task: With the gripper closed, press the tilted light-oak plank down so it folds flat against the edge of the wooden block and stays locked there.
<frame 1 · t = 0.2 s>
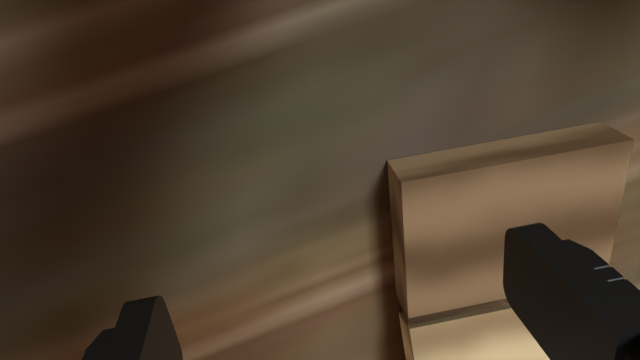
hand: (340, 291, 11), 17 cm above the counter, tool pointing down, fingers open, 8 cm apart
wooden block: (491, 214, 33), on the counter
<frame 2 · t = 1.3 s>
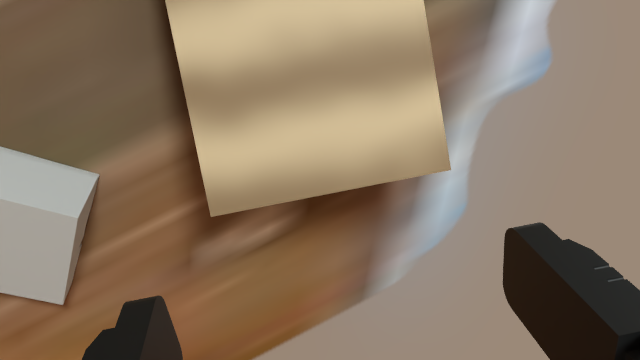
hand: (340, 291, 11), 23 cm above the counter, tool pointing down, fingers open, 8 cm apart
oak plank: (308, 74, 28), point 4 cm above the counter, hinge at 22.0°
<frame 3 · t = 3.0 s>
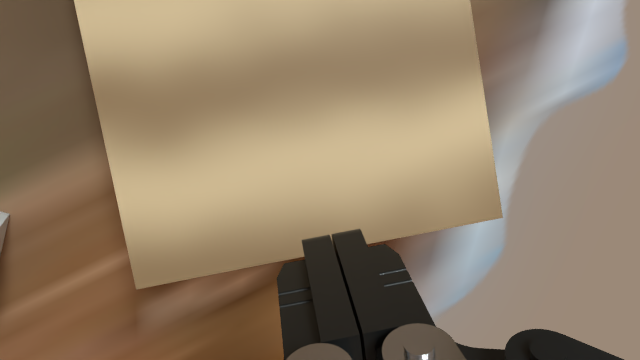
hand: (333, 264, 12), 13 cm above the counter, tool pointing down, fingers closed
oak plank: (289, 72, 19), point 4 cm above the counter, hinge at 22.0°
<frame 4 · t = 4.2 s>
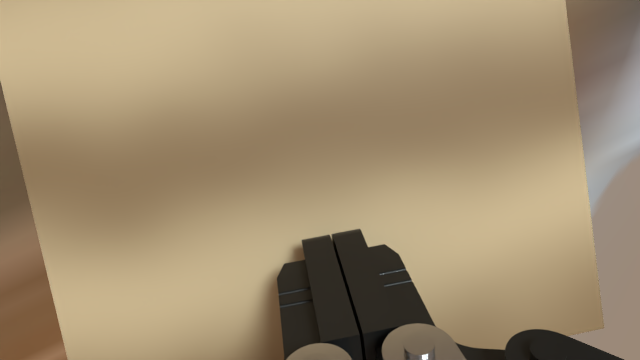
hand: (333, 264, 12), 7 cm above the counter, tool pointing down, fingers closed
oak plank: (305, 120, 13), point 4 cm above the counter, hinge at 20.5°, touching gripper
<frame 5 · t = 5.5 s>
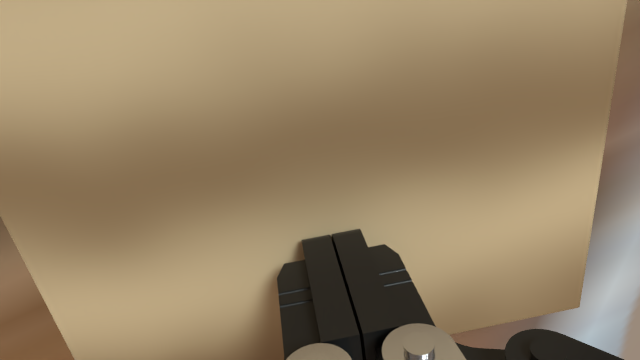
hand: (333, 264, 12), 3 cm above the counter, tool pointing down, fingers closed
oak plank: (306, 107, 12), point 1 cm above the counter, hinge at -0.1°, touching gripper
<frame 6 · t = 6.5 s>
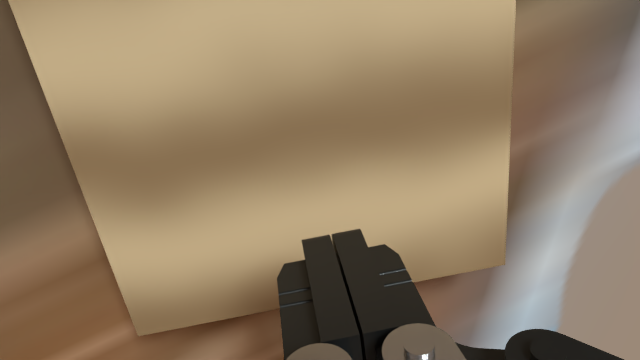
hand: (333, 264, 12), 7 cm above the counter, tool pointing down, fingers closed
oak plank: (294, 109, 16), point 1 cm above the counter, hinge at -0.1°
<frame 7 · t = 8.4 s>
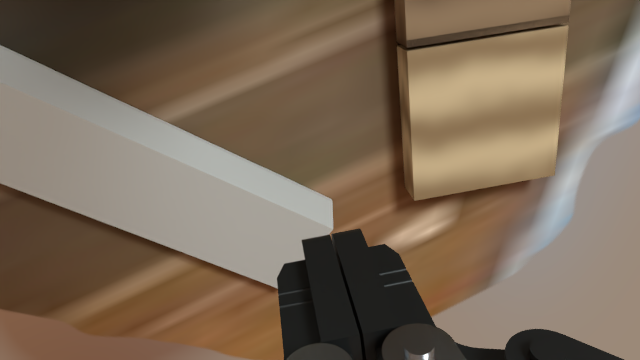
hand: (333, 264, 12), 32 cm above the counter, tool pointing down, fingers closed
decorative molding: (144, 168, 44), on the counter
oak plank: (479, 113, 44), point 1 cm above the counter, hinge at -0.1°
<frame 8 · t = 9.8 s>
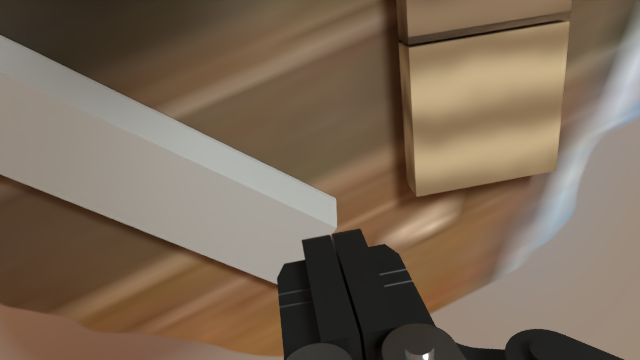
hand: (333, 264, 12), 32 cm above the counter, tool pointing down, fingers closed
decorative molding: (150, 164, 45), on the counter
oak plank: (481, 109, 44), point 1 cm above the counter, hinge at -0.1°
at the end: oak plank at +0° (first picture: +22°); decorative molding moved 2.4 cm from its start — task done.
